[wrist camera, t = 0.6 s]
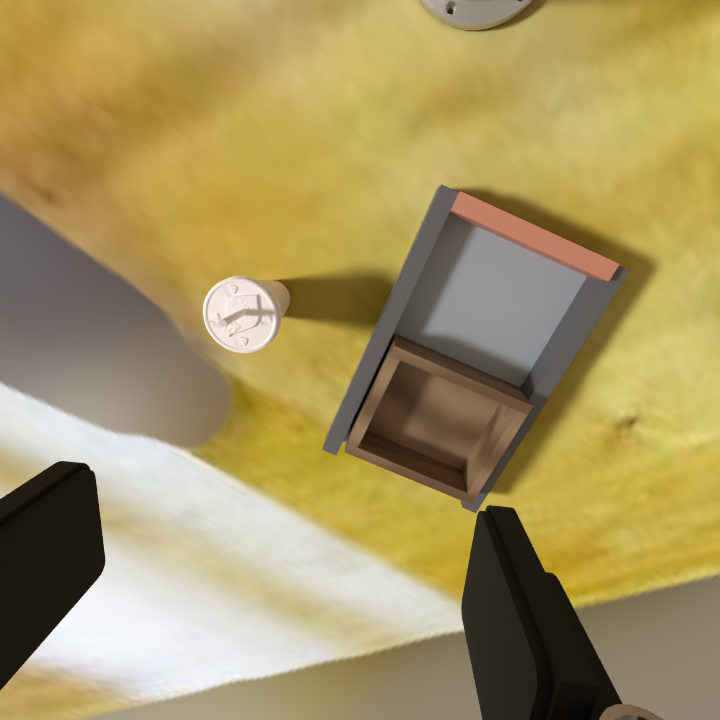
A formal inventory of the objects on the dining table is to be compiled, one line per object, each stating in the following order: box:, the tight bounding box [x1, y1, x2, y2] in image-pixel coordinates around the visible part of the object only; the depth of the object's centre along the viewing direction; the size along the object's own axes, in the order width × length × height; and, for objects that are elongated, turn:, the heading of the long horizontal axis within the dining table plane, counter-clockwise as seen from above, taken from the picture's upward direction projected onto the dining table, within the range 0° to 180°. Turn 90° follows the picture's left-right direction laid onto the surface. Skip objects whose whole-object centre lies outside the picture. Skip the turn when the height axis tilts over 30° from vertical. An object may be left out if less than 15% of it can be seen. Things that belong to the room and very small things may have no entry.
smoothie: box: [203, 276, 290, 353], centre depth 36 cm, size 6×6×14 cm
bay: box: [322, 185, 629, 513], centre depth 40 cm, size 28×18×5 cm, turn 157°
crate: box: [345, 333, 533, 505], centre depth 41 cm, size 12×14×5 cm
